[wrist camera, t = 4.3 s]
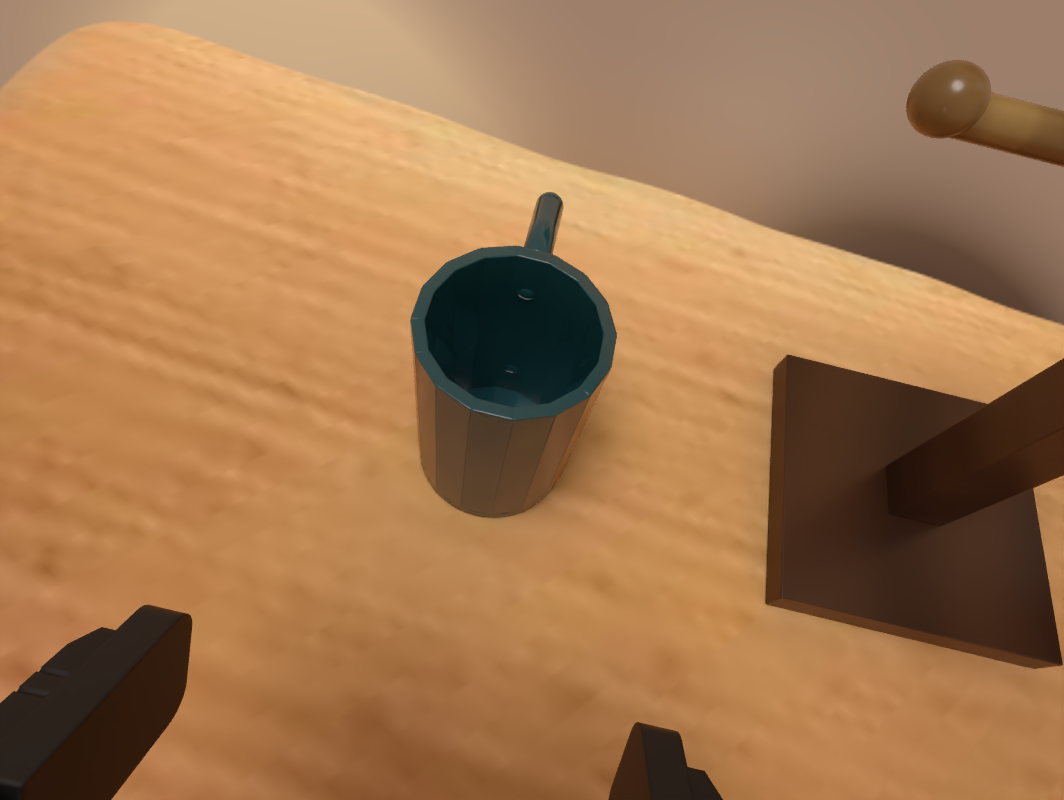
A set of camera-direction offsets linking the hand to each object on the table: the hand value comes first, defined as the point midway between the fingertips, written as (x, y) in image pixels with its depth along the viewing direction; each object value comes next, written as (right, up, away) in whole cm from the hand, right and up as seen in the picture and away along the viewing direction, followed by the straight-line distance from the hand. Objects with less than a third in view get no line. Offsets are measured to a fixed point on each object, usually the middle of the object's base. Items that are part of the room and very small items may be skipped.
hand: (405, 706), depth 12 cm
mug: (+1, +5, +19) cm, 20 cm away
